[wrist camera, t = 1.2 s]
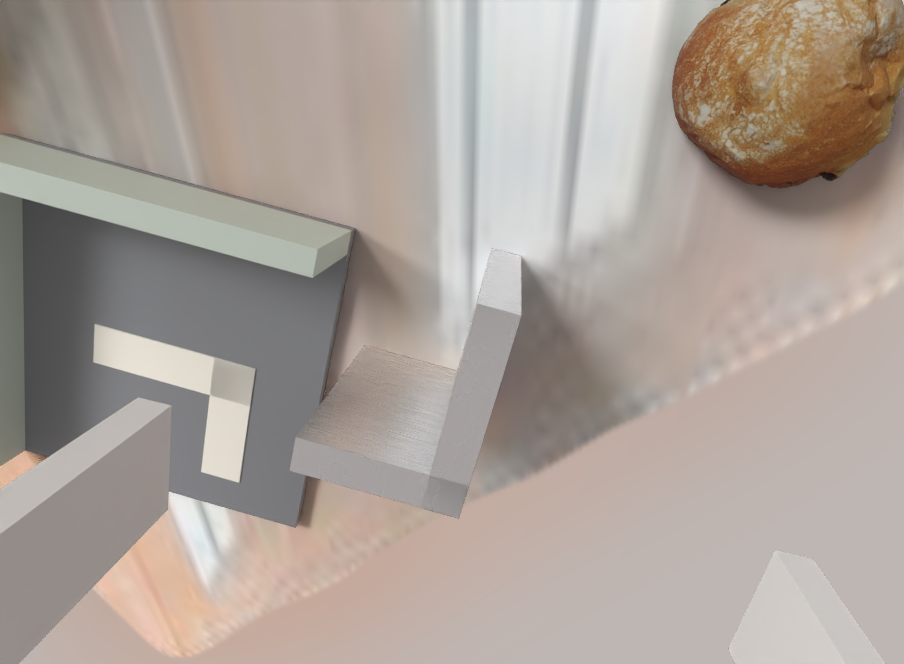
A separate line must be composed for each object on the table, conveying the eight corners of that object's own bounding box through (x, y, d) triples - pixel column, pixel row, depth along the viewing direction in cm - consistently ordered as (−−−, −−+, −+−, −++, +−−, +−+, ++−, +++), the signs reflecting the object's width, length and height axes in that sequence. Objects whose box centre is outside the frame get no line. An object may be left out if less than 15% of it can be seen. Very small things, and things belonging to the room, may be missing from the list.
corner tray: (14, 439, 42) (-76, 492, 36) (9, 133, 35) (-106, 133, 28) (299, 520, 42) (259, 589, 35) (355, 228, 34) (317, 249, 28)
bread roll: (802, -22, 31) (843, -142, 23) (935, 119, 29) (1028, 35, 21) (642, 100, 34) (633, 28, 26) (751, 238, 31) (775, 202, 24)
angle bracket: (477, 402, 37) (458, 518, 26) (359, 369, 37) (289, 470, 26) (521, 256, 34) (521, 315, 22) (390, 220, 34) (326, 261, 23)
